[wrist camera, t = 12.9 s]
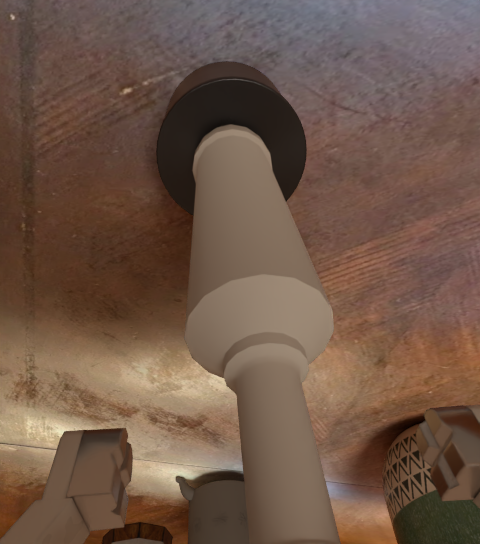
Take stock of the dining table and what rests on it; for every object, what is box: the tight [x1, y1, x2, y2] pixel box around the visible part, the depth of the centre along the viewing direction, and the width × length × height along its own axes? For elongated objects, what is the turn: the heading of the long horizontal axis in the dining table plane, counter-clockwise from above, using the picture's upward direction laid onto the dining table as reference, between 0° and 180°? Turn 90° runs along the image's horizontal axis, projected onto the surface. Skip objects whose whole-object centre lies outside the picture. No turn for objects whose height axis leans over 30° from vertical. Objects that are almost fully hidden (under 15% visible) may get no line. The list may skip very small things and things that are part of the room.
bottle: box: [184, 124, 341, 544], centre depth 17 cm, size 5×5×25 cm
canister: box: [156, 61, 307, 216], centre depth 30 cm, size 10×10×7 cm
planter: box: [382, 423, 480, 544], centre depth 54 cm, size 20×20×21 cm
